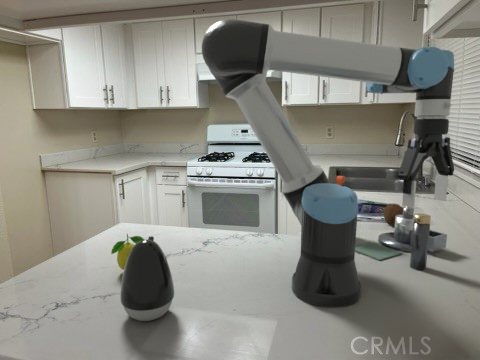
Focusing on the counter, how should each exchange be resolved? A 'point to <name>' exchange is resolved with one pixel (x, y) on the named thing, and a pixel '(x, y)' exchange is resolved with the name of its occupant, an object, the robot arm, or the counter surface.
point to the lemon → (124, 250)
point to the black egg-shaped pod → (146, 282)
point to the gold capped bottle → (420, 241)
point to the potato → (392, 213)
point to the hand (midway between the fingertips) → (424, 203)
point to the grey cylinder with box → (405, 231)
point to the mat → (377, 251)
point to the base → (393, 242)
